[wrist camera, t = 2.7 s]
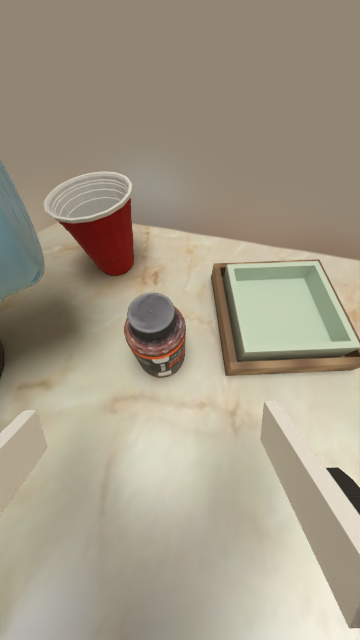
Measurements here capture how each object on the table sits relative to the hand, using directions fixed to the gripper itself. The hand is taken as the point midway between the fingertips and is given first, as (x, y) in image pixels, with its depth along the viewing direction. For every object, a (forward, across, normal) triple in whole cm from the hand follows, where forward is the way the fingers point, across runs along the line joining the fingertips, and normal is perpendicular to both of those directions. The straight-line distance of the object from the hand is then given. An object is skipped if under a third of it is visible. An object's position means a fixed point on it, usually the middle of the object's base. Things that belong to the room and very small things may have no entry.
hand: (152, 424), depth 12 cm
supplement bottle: (+15, -1, -3) cm, 15 cm away
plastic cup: (+27, -9, +9) cm, 29 cm away
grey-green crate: (+18, +15, +1) cm, 23 cm away
